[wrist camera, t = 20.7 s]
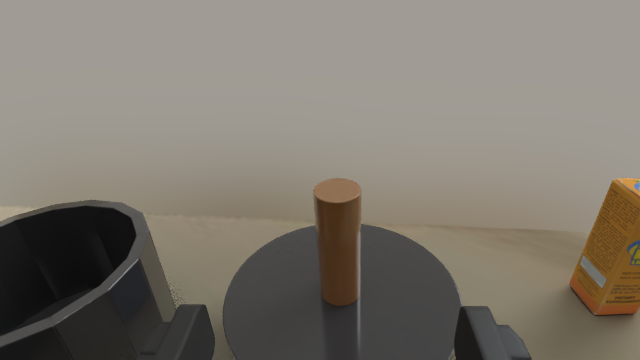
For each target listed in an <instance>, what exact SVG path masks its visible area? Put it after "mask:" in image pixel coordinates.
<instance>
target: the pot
mask: <svg viewBox="0 0 640 360" xmlns="http://www.w3.org/2000/svg"><path fill="white" fill-rule="evenodd" d="M175 312H176V308H175V305H174V302H173V299H172V296H171V293H170V290H169V287H168V284H167V281H166V278H165V275H164V272H163V269H162V266H161V263H160V260H159V257H158V255H157V252H156V249H155V246H154V243H153V240H152V237H151V234H150V231H149V228H148V226H147V223H146V220H145V218H144V215H143V213H141V212H139V211H137V210H136V209H134V208H132V207H130V206H128V205H126V204H124V203H120V202H109V201H99V200H87V201H79V202H71V203H63V204H55V205H51V206H48V207H44V208H41V209H37V210H33V211H30V212H26V213H23V214H19V215H16V216H13V217H10V218H7V219H5V220H3V221H0V360H136V358H137V356H138V355H140V351H141V349H142V347H143V345H144V343H145V341H146V339H147V338H148V336H149V335H150V334H151V333H152V332H153V331H154V330H155V329H156V328H157V327H158V326H159V325H160V324H161V323H162V322H171V320H172V318H173V316H174V314H175Z"/></svg>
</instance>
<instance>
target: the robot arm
mask: <svg viewBox="0 0 640 360" xmlns="http://www.w3.org/2000/svg"><path fill="white" fill-rule="evenodd" d="M214 346H215V338H214V333H213V329H212V326H211V322H210V319H209V315H208V311H207V308H206V306H205V305H196V304H182V305H180V306H179V307H178V308H177V310H176V312H175V314H174V316H173V318H172V320H171V322H162V323H161V324H160V325H159V326H158V327H157V328H156V329H155V330H154V331H153V332H152V333H151V334H150V335H149V336H148V338H147V339H146V341H145V343H144V345H143V347H142V349H141V351H140V355H138V356H137V358H136V360H212V356H213V353H214ZM454 350H455V356H456V360H531V356H530V354H529V352H528V350H527V348H526V346H525V344H524V342H523V340H522V339H521V338H520V337H519V336H518V335H517V334H516V333H515V332H514V331H513V330H512V329H511V328H510V327H509V326H508V325H496V322H495V320H494V318H493V316H492V313H491V311H490V309H489V308H488V307H487V306H461V307H460V310H459V316H458V321H457V326H456V332H455V337H454Z"/></svg>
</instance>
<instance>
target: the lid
mask: <svg viewBox="0 0 640 360" xmlns="http://www.w3.org/2000/svg"><path fill="white" fill-rule="evenodd" d="M313 197H314V211H315V226H310V227H306V228H302V229H298V230H295V231H293V232H290V233H287V234H285V235H283V236H280V237H278V238H276V239H274V240H273V241H271V242H269V243H267V244H266V245H264V246H263V247H262V248H260V249H259V250H257V251H256V252H255V253H254V254H253V255H252V256H250V257H249V258H248V259H247V260H246V262H245V263H244V264H243V265H242V266H241V267H240V269H239V270H238V271H237V273H236V274H235V276H234V277H233V279H232V281H231V283H230V285H229V288H228V291H227V294H226V297H225V301H224V307H223V326H224V331H225V336H226V340H227V343H228V346H229V349H230V351H231V354H232V356H233V357H234V359H235V360H452V359H453V357H454V355H455V350H454V337H455V332H456V326H457V321H458V316H459V310H460V307H461V306H462V301H461V296H460V294H459V291H458V288H457V286H456V283H455V282H454V280H453V278H452V276H451V275H450V273H449V272H448V270H447V269H446V268H445V267H444V265H443V264H442V263H441V262H440V261H439V260H438V259H437V258H436V257H435V256H434V255H433V254H432V253H430V252H429V251H428V250H427V249H425V248H424V247H423V246H421V245H419V244H418V243H416V242H415V241H413V240H411V239H409V238H407V237H405V236H403V235H400V234H398V233H395V232H393V231H390V230H387V229H383V228H380V227H375V226H370V225H364V224H361V188H360V186H359V185H358V184H357V183H356V182H354V181H351V180H348V179H342V178H334V179H328V180H324V181H322V182H320V183H318V184H317V185H316V186H315V188H314V190H313Z"/></svg>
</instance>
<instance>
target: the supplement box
mask: <svg viewBox="0 0 640 360" xmlns="http://www.w3.org/2000/svg"><path fill="white" fill-rule="evenodd" d="M570 285H571V287H572V288H573V290H574V291H575V292H576V293H577V295H578V296H579V297H580V298H581V300H582V301H583V302H584V303H585V305H586V306H587V307H588V308H589V309H590V310H591V312H592V313H593V314H594V315H610V314H630V313H636V312H637V311H638V309H639V307H640V179H626V178H618V179H615V180H613V181H612V183H611V185H610V188H609V190H608V193H607V195H606V197H605V200H604V202H603V205H602V207H601V209H600V211H599V214H598V216H597V219H596V221H595V224H594V226H593V228H592V230H591V233H590V235H589V238H588V240H587V242H586V245H585V247H584V249H583V252H582V254H581V257H580V259H579V261H578V264H577V266H576V268H575V271H574V273H573V276H572V278H571V280H570Z"/></svg>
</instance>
